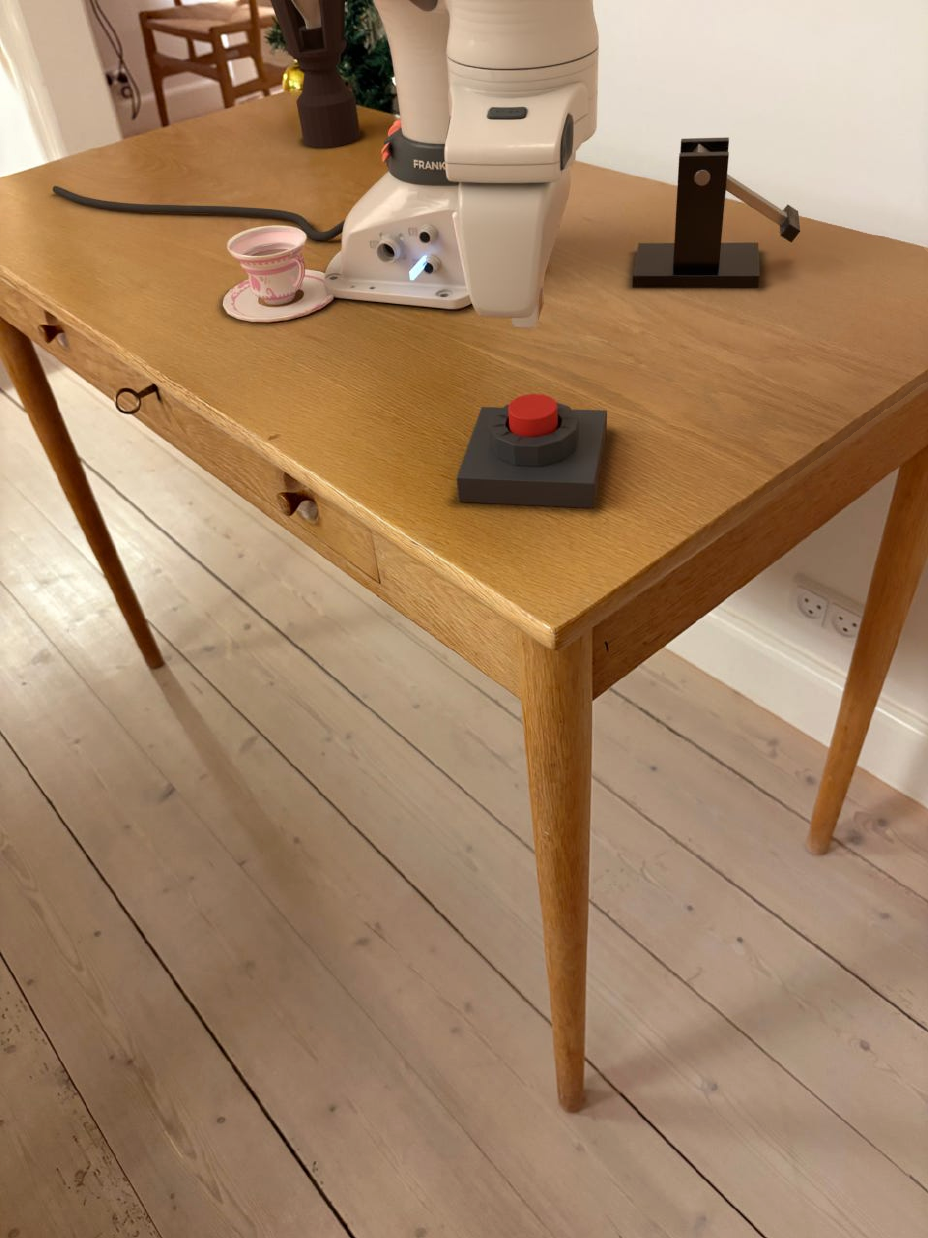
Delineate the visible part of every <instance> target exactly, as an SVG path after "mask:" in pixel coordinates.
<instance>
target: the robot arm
mask: <svg viewBox="0 0 928 1238" xmlns="http://www.w3.org/2000/svg"><path fill="white" fill-rule="evenodd" d="M372 2H373V4H374V6H375V8H376V11H377V13H378V15H379V18H380V20H381V24H382V26H383V29H384V32H385V36H386V39H387V42H388V46H389V52H390V56H391V62H392V67H393V68H392V69H393V76H394V81H395V89H396V94H397V96H396V97H397V102H398V109H399V111H398V112H399V117H400V119H397V120H395V121H394V122H393V124H392V125H391V127H390V128H389V129H388V132H387V137H386V138H385V140H384V141H383V147H382V149H381V151H380V153H381V155H382V158H381V162H382V163H383V164H386V167H387V169H388V170H387V172H385V173H384V174H383V175H382V176H381V177H380V178H379V179H378V180H377V181H376V182H375V183H374V184H373V185H372V186H371V187H370V188H369V189H368V190H367V191H366V192H365V193H364V194H363V195H362V196H361V197H360V199H358V200H357V202H356V203H354V205H353V206H352V208H351V209H349V212H348V213H347V216H346V217H345V220H342V221H341V222H340V223H338V224H337V225H335V226H334V227H332V228H331V229H329V230H326V231H316V230H315V229H313V227H312V226H311V224H310V223H309V222H308V221H307V219H305V217H303V216H302V215H300V214H298V213H295V212H292V211H287V210H282V209H274V208H262V207H246V206H227V205H187V204H185V205H182V204H148V203H147V204H145V203H131V202H119V201H112V200H111V201H110V200H103V199H98V198H92V197H87V196H84V195H80V194H77V193H75V192H72V191H70V190H67V189H65V188H63V187H60V186H58V185H54V186H52V192H53V193H54V194H56V195H59V196H61V197H63V198H66V199H68V200H70V201H72V202H74V203H79V204H82V205H85V206H91V207H94V208H101V209H108V210H114V211H115V210H116V211H125V212H136V213H137V212H139V213H162V214H164V213H165V214H200V215H202V214H203V215H204V214H205V215H206V214H207V215H234V216H249V217H251V216H252V217H265V218H274V219H281V220H286V221H291V222H293V223H296V224H297V225H299V226H300V227H301V228H302V231H303V232H305V234H306V235H307V237H309V239H312V240H314V241H320V242H324V241H325V242H326V241H331V240H333V239H334V238H336V237H338V236H340V235H341V249H340V250H339V251H338V252H337V253H336V254H335V255H334V256H333V258H331V260H330V262H329V263H328V265H327V267H326V269H325V271H324V273H325V275H324V285H325V290H326V292H327V294H328V295H332V294H333V295H334V298H338V299H345V300H355V301H367V302H374V303H375V302H377V303H385V304H386V303H387V304H394V305H395V304H396V305H406V306H414V307H415V306H416V307H425V308H426V307H427V308H436V309H445V310H458V309H462V308H465V307H467V306H469V305H471V304H472V307H473V310H474V311H475V313H476V314H477V315H478V316H480V317H483V318H493V319H497V318H498V319H511V323H512V325H513V327H516V328H521V329H523V328H524V329H533V328H536V327H537V326H538V323H539V320H540V317H541V313H542V310H543V307H544V296H545V295H544V283H545V277H546V276H545V275H546V271H547V269H548V265H549V262H550V260H551V259H550V258H551V255H552V252H553V249H554V245H555V242H556V239H557V235H558V232H559V229H560V226H561V222H562V219H563V216H564V212H565V210H566V206H567V203H568V200H569V196H570V190H571V189H570V188H571V166H572V165H573V164H574V162H575V161H576V155H577V153H576V152H577V151H578V150H579V148H580V147H581V145H582V144H583V143H585V142H588V140H590V139H591V138H592V137H593V136H594V135H595V133H596V131H597V128H598V94H599V93H598V91H599V90H598V89H599V88H598V87H599V51H600V48H599V47H600V46H599V45H600V40H599V39H600V38H599V37H600V36H599V30H598V24H597V22H596V17H595V12H594V0H372Z"/></svg>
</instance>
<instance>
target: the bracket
mask: <svg viewBox="0 0 928 1238" xmlns="http://www.w3.org/2000/svg"><path fill="white" fill-rule="evenodd" d="M698 144H700V145H702V146H703V147H705V148H706V149H708V150H709V151H711V152H693V151H694V150H695V148H696V147H697V145H698ZM729 146H730V137H696V138H695V137H692V138H691V137H690V138H681V139H680V150H679V153H678V154H679V155H678V169H677V187H676V205H675V222H674V223H675V225H674V226H675V227H674V241H673V242H650V243H649V242H639V243H638V244H637V249H636V255H635V261H634V266H633V271H632V283H631V285H632V288H708V289H709V288H712V289H713V288H720V289H721V288H725V289H728V288H731V289H732V288H733V289H734V288H735V289H736V288H739V289H740V288H744V289H745V288H746V289H747V288H750V289H752V288H753V289H755V288H756V289H757V288H759V286H760V285H759V284H760V275H761V273H760V251H759V250H760V247H759V242H722V237H723V228H724V227H723V226H724V215H725V204H726V203H725V202H726V194H727V193H726V192H727V191H726V182H727V174H728V169H729V158H730V157H729V156H730V152H729V148H730V147H729Z"/></svg>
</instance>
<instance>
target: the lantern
mask: <svg viewBox="0 0 928 1238" xmlns="http://www.w3.org/2000/svg"><path fill="white" fill-rule="evenodd" d="M269 1H270V4H271V7H272V10H273V12H274V15H275V18H276V20H277V22H278V26H279V29H280V32H281V34H282V36H283V39H284V42H285V45H286V50H287V52H288V55H289V56H290V57H292V58H293V60H296V62H297V65H298V67H299V69H301V70H304V72H303V79H302V80H303V81H302V90H301V93H300V94H299V96H298V98H296V107H297V113H298V118H299V125H300V130H301V134H302V135H301V136H302V140H303V141H302V142H303V143H304V145H305V146H306V147H309V148H315V149H328V148H336V147H343V146H345V145H348V144H351V143H354V142H356V141H357V140H358V139H360V137H361V129H360V123H359V117H358V108H357V102H356V96H355V93H354V92H353V90H352V89H350V88H349V87H348V86H347V85H346V84H345V81H344V79H343V77H342V75H341V72H340V70H339V68H338V67H337V66H339V64H341V61H342V60H341V59H342V54H343V53H344V51H345V49H346V48H347V40H346V39H345V38H346V37H345V35H346V0H269Z"/></svg>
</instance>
